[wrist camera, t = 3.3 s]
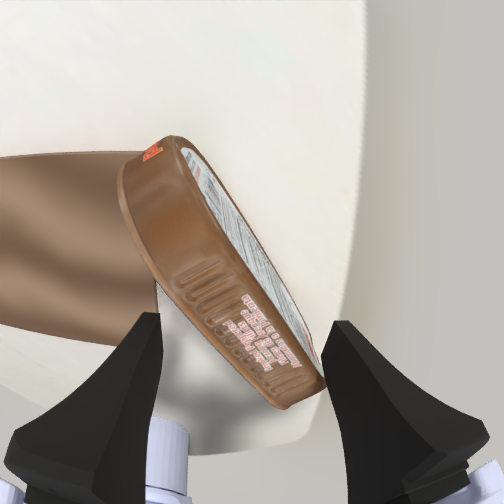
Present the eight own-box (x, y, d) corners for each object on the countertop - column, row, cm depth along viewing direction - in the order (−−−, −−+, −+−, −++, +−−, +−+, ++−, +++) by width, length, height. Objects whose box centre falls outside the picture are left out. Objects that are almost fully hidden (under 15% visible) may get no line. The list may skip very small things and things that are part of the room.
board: (161, 345, 22) (160, 351, 21) (-16, 314, 19) (-19, 318, 19) (154, 151, 15) (151, 153, 14) (-57, 165, 13) (-62, 168, 12)
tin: (143, 148, 15) (71, 205, 8) (193, 115, 14) (157, 139, 7) (273, 332, 22) (291, 435, 14) (312, 314, 21) (345, 415, 14)
